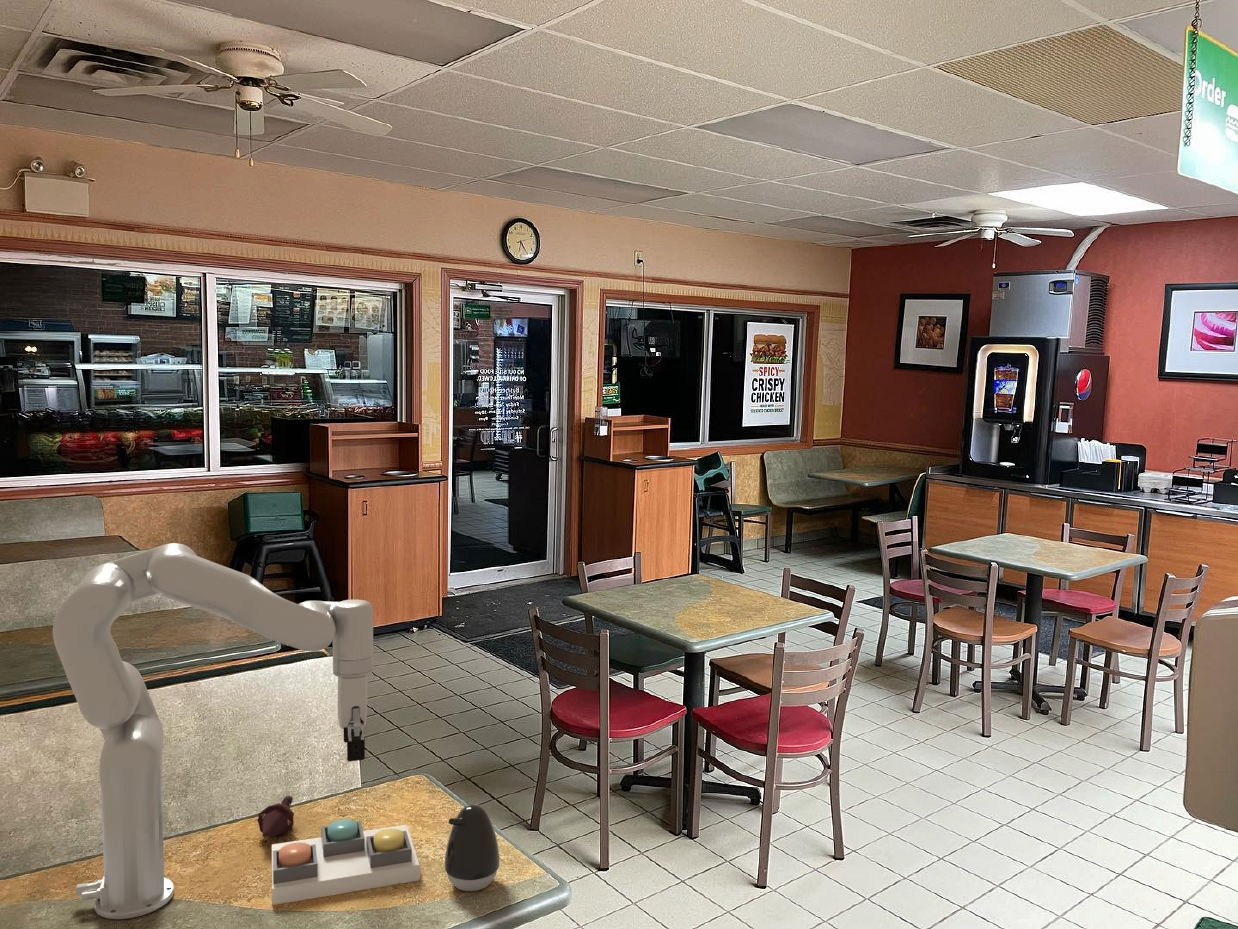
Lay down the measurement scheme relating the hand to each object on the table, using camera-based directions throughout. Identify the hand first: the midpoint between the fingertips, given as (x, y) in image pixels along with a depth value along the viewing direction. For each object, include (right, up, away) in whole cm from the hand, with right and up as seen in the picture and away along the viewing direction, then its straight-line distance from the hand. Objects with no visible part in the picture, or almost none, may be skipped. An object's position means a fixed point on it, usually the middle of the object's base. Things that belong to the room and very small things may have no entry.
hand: (354, 750), depth 178 cm
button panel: (-1, -22, -2) cm, 22 cm away
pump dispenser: (+24, -23, -6) cm, 34 cm away
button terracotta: (-8, -18, -8) cm, 22 cm away
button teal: (-3, -17, +1) cm, 18 cm away
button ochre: (+7, -18, -2) cm, 20 cm away
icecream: (-19, -21, +10) cm, 30 cm away
